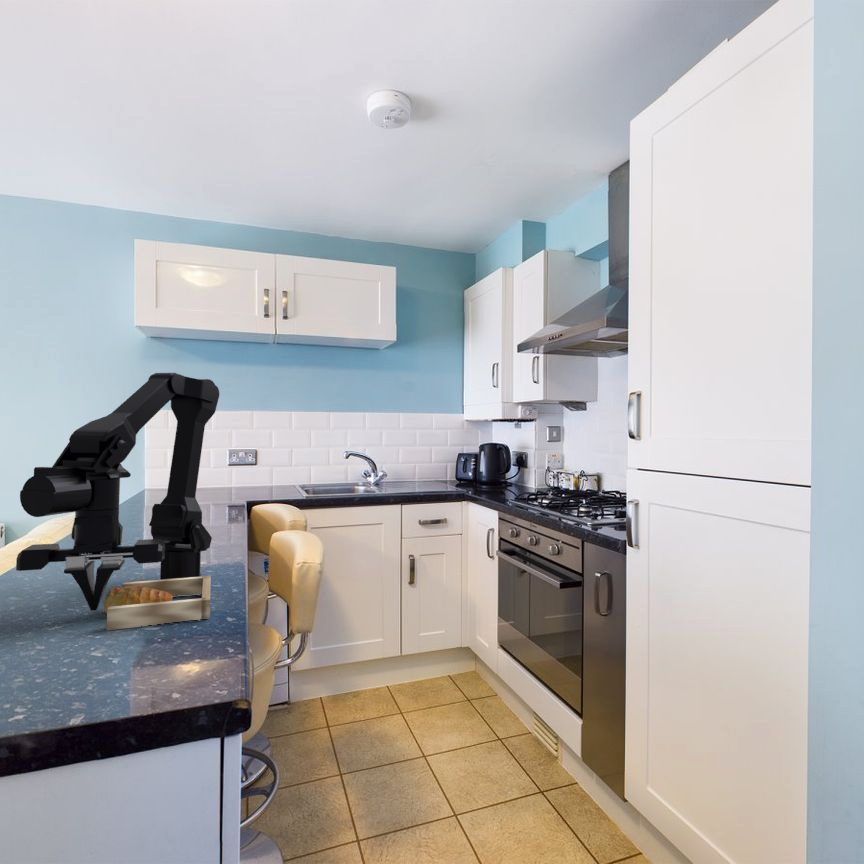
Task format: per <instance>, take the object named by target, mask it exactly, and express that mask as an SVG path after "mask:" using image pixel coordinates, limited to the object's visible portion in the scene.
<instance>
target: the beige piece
mask: <svg viewBox="0 0 864 864" xmlns="http://www.w3.org/2000/svg"><path fill="white" fill-rule="evenodd" d="M211 577H212V576H211V575H205V576H204V575H203V576H202V575H201V577H189V578H176V579H163V580H160V579H154V580H153V579H152V580H141V581H140V580H139V581H137V580H136V581H127V582H126V581H125V582H124V581H123V583H122V588H125V587H127V586H130V587H136V586H142V587H144V588H146V587H147V588H152V589H156V590H160V591H165V592H167V593H169V594H171V595H172V596H178V595H193V594H202V595H201V598H199V597H198V598H192V599H191V598H190V599H180V600H172V601H166V602H155V603H144V604H133V605H123V606H112V607H108V609H107V614H106V631H113V630H120V629H121V630H122V629H130V628H141V626H142V627H149V626H148V625H152V626H158V625H157V624H161V625H165V624H164V623H170V624H173V623H172V622H178V621H188V620H198V621H201V620H200V619H208V620H210V619H211V617H210V616H211V582H212V581H211V579H212V578H211Z"/></svg>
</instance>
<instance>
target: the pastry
mask: <svg viewBox="0 0 864 864" xmlns="http://www.w3.org/2000/svg"><path fill="white" fill-rule="evenodd" d="M173 599H174V598H173V596H172V595H171V594H169V593H167V592H165V591H160V590H156V589H152V588H147V587H146V588H144V587H142V586H136V587H130V586H127V587H125V588H123V587H122V588H121V587H118V586H117V587H116V586H114V587H111V588H110V589H109V590H108V593H107V594H106V597H105V600H104V604H103V608H102V611H103V613H105V614H106V615H107V609H108V607H112V606H123V605H133V604H144V603H155V602H166V601H173Z"/></svg>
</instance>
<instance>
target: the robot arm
mask: <svg viewBox="0 0 864 864" xmlns="http://www.w3.org/2000/svg"><path fill="white" fill-rule="evenodd" d="M219 398H220V389H219V387H218V386H217V385H216V383H215V382H214V380H212V379H210V378H209V379H208V378H193V377H189V376H185V375H183V374H180V373H177V372H155V373H153V374H151V375H149V377H148V380H147V381H146V382H144V384H143V385H141V386H140V387H139V388H138V389H137V390H136V391H135V392H134V393H132V394H131V395H130V396H129V397H128V398H127V399H126V400H125V401H124V402H122V403H121V404H120V405H119V406H117V408H116V409H114V410H113V411H112V412H111V413H109V414H108V415H105V416H103V417H100V418H97V419H94V420H91V421H89V422H88V423H86V424H84V425H82V426H81V427H79V428H77V429H76V430H74V431H73V432H72V433H71V435H70V436H69V442H68V443H67V445H65V447H64V449H63V450H62V452H61V453H60V454H59V456H58V458H56V460H55V462H54V463H53V464H52V466H34V468H33V475H32V476H30V477H29V478H28V479H27V480H26V481H25V483H24V484H23V486H22V489H20V492H19V501H20V504H21V507H22V509H23V511H24V512H26V513H27V514H28V515H29V516H31V517H34V518H42V517H47V516H55V515H62V514H68V513H74V512H75V515H74V519H73V520H74V521H73V524H72V528H71V539H72V540H73V541H74V542H73V543H74V544H73V548H60V545H59V543H44V544H43V543H42V544H41V543H40V544H39V543H38V544H30V545H29V546H28V547H26V548H24V549H22V550H21V551H20V552H19V553H17V557H16V565H15V566H16V569H15V570H16V571H18V572H22V571H36V570H37V571H39V570H43V569H44V568H45V567H46V566H47V565H49V563H56V562H57V563H58V562H61V563H62V562H65V568H64V569H63V574H66V575H67V574H68V575H69V574H70V575H71V576H72V577H73V579H74V580H75V582H76V584H77V585H78V587H79V588H80V589H81V593H82V594H83V596H84V598H85V601H86V603H87V605H88V607H89V609H90V611H91V612H92V611H97V609H98V608H99V605H100V603H101V600H102V598H103V596H104V593H105V590H106V587H107V585H108V582H109V580H110V578H111V577H112V575H113V572H114V571H120V570H121V569H122V567H124V564H125V562H126V559H128V558H129V559H130V558H132V559H133V560H134V561H135V562H136V563H138V564H139V565H141V564H154V563H160V574H159V575H160V577H159V580H163V579H176V578H189V577H202V573H201V565H202V563H201V562H202V561H201V558H202V552H206V551H207V549H210V547H211V543H212V539H213V537H212V536H211V533H209V532H208V530H207V529H206V527H205V526H204V525H203V511H202V509H201V506H200V505H199V502H198V501H197V498H196V497H197V495H196V493H197V486H198V479H199V472H200V466H201V465H200V464H201V459H202V458H201V457H202V450H203V443H204V442H203V441H204V436H205V428H206V425H207V423H208V422H209V420H210V419H211V418H212V417H213V416H214V414H215V413H216V411H217V410H216V409H217V406H218V402H219ZM169 402H170V409H171V410H172V413H173V415H174V417H175V418H176V421H177V422H176V429H175V436H174V442H173V443H174V444H173V450H172V455H171V457H172V458H171V465H170V470H169V478H168V486H167V492H166V496H165V497H164V498H163V499H162V501H161V502H160V503H154V504H153V506H152V508H151V519H150V522H149V523H148V524H149V527H150V535H151V537H152V538H150V539H148V538H147V539H138V540H137V541H136V543H134V545H122V538H123V525H122V524H121V522H120V517H119V516H120V491H121V490H120V488H121V487H120V486H121V479H124V478H125V479H126V478H130V477H132V475H131V473H130V471H129V470H128V469H126V468H124V466H123V465H122V463H123V462H124V461H125V460H126V459H127V457H128V456H129V455H130V453H131V452H132V451H133V449H134V447H135V445H136V443H137V435H138V433H139V432H140V430H141V429H142V428H144V426H145V425H147V424H148V422H150V420H151V419H153V418H154V417H155V416H156V415H157V413H159V412H160V411H161V409H163V407H165V406H166V405H167V404H168V403H169ZM96 560H97V561H99V560H100V562H101V564H100V565H99V566H98V567H97V568H96V575H95V561H96Z"/></svg>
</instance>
